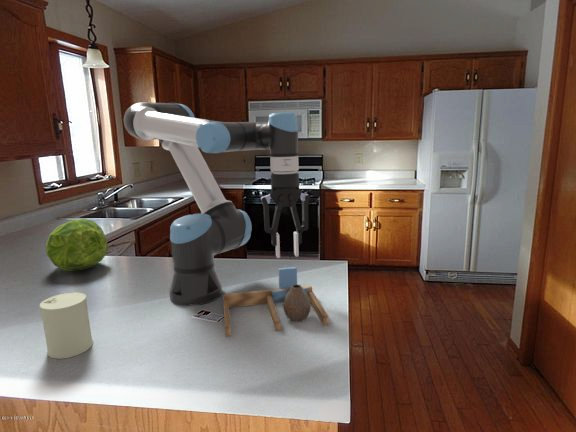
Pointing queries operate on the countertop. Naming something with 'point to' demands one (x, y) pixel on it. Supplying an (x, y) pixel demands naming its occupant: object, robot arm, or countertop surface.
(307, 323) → the countertop surface
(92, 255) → the lettuce
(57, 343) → the can
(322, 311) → the rack
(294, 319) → the vase
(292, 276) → the tab
